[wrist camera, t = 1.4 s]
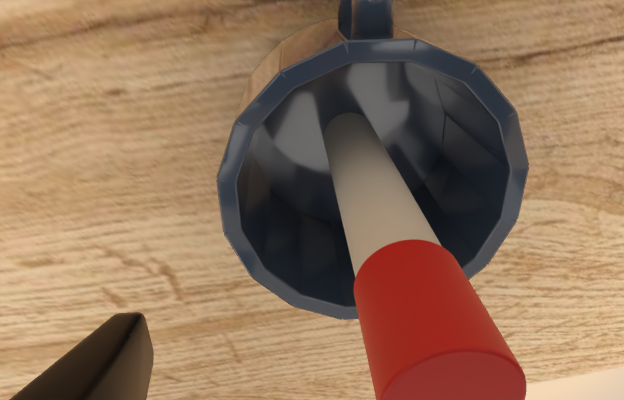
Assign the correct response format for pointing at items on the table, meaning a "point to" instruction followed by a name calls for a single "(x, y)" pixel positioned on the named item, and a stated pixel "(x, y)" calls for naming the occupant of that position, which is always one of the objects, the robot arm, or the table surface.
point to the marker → (411, 285)
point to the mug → (394, 136)
